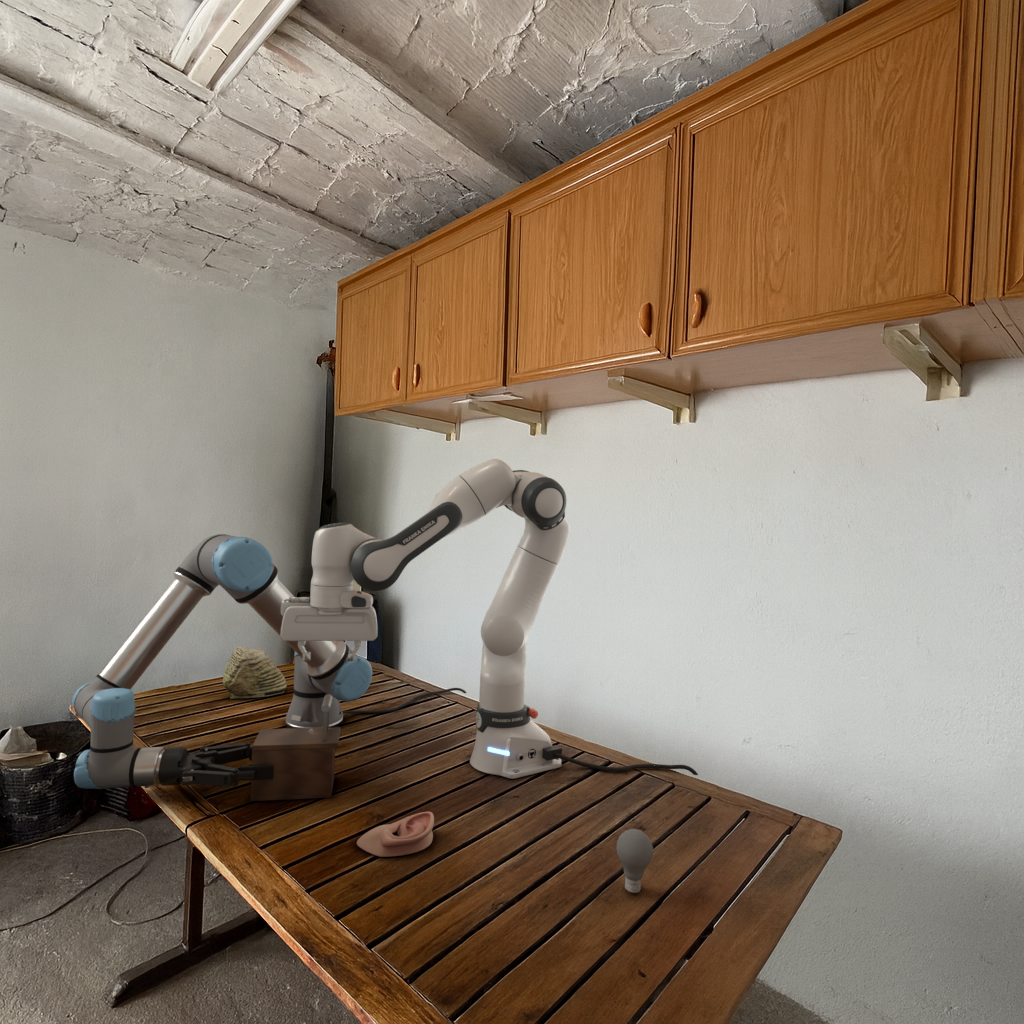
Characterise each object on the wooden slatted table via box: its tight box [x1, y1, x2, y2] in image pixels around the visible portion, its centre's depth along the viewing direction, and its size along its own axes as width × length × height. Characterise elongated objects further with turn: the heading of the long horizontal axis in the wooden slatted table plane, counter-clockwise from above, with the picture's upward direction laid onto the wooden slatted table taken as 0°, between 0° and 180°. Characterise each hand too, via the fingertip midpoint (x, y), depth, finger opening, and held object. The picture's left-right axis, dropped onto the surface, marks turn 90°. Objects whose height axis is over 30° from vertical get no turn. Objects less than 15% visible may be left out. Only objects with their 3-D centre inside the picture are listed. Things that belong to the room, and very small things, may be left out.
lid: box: [251, 694, 342, 751], centre depth 136 cm, size 17×9×9 cm, turn 102°
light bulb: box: [615, 828, 654, 894], centre depth 106 cm, size 6×6×10 cm
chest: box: [249, 748, 336, 802], centre depth 137 cm, size 16×9×10 cm, turn 102°
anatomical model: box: [356, 811, 435, 858], centre depth 118 cm, size 13×4×12 cm
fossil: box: [222, 646, 288, 699], centre depth 198 cm, size 9×18×15 cm, turn 132°
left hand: (276, 761), depth 136 cm, fingers closed on chest, 9 cm apart
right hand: (329, 660), depth 137 cm, fingers open, 8 cm apart
